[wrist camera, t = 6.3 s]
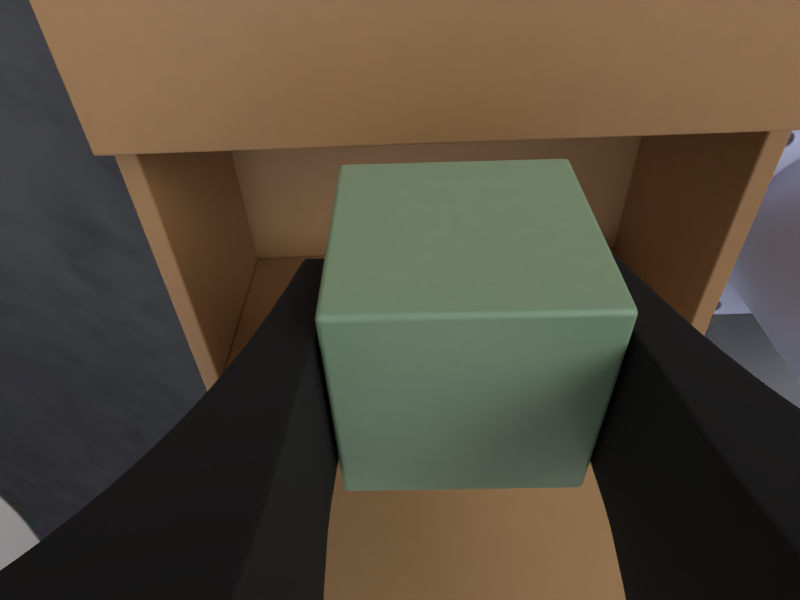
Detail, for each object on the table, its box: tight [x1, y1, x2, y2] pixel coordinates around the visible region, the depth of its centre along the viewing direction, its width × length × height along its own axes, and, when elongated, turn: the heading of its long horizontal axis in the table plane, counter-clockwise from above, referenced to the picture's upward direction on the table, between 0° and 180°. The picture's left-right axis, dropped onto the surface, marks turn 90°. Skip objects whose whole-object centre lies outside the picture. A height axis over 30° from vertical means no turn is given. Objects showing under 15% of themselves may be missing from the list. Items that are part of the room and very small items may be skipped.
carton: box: [29, 0, 800, 391], centre depth 14 cm, size 16×14×7 cm
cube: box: [315, 159, 638, 491], centre depth 10 cm, size 4×4×4 cm
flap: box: [324, 460, 626, 600], centre depth 14 cm, size 8×14×1 cm
